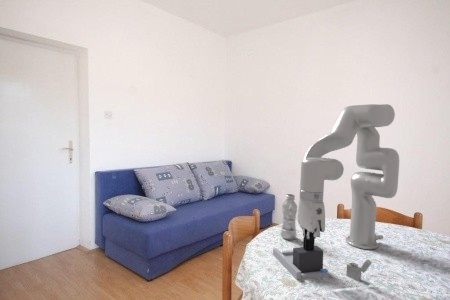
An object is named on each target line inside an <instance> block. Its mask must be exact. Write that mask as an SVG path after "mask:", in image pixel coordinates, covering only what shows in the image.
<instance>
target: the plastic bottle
mask: <svg viewBox="0 0 450 300" xmlns="http://www.w3.org/2000/svg"><path fill="white" fill-rule="evenodd" d="M295 197H296V196H295V195H294V194H292V193H287V194H285V201H284V202H283V203H282V205H281V209H282V226H281V232H280V235H281V238H282V239H284V240H286V241H294V240H295V239H296V238H297V229H296V225H297V224H296V218H297V214H298V205H297V204H296V202H295V200H296V199H295Z"/></svg>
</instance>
